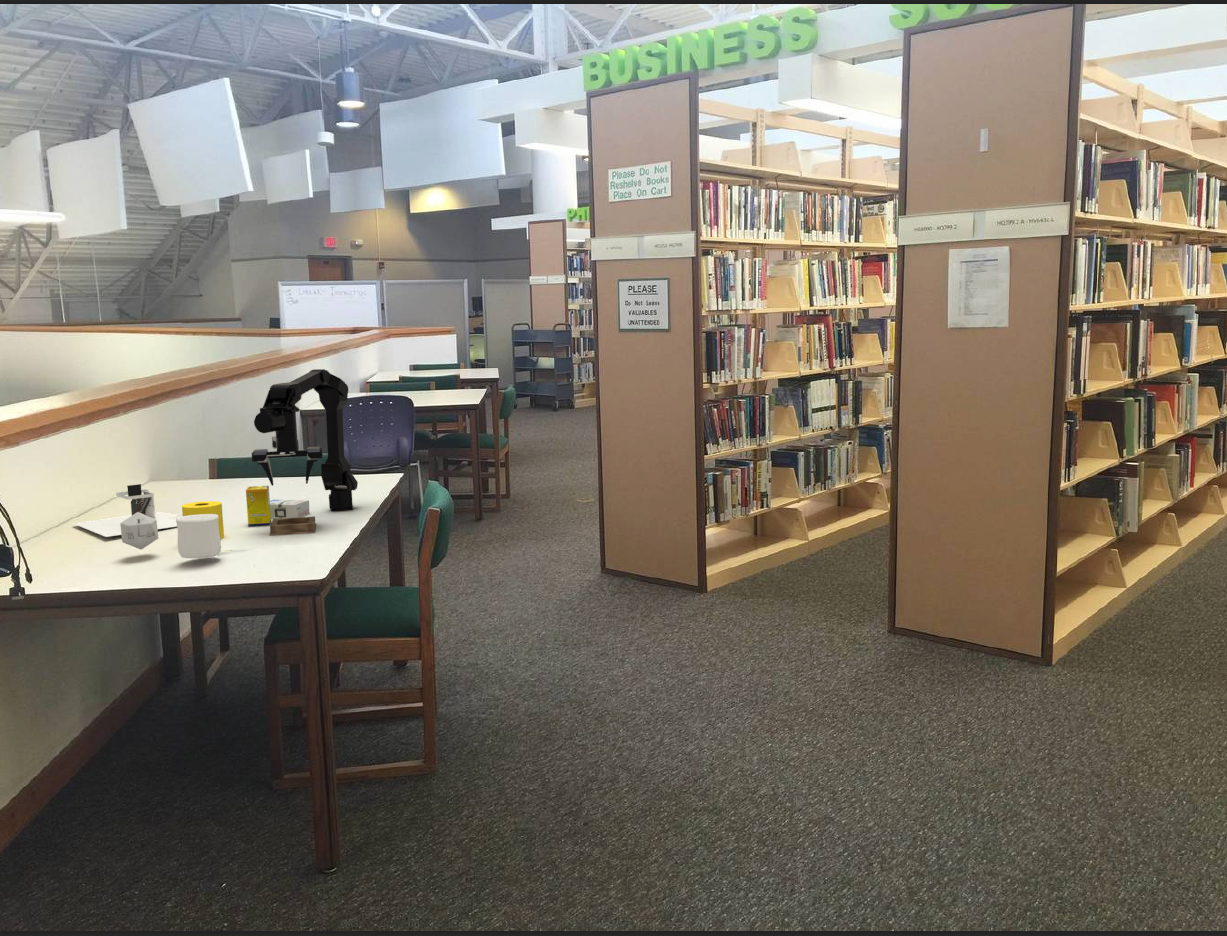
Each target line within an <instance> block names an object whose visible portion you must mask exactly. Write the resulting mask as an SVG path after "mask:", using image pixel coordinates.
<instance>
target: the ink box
mask: <svg viewBox="0 0 1227 936" xmlns="http://www.w3.org/2000/svg"><path fill="white" fill-rule="evenodd" d="M270 512H271V519H279V518H295V517H306V516H308V515H310V514H311V513H310V501H309V499H272V500H270ZM307 514H308V515H307Z"/></svg>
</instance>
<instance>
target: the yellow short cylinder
mask: <svg viewBox="0 0 1227 936" xmlns="http://www.w3.org/2000/svg"><path fill="white" fill-rule="evenodd" d="M181 510H182V511H181V512H182V516H189V515H199V514H216V515H218V526H219V534H220V540H221V539H224V538H225V531H224V518H223V504H222V502H221V501H217V500H215V501H213V500H210V501H208V500H205V501H195V502H194V501H193V502H189V503H188V502H187V503H185V504H182V505H181Z"/></svg>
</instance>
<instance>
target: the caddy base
mask: <svg viewBox="0 0 1227 936" xmlns="http://www.w3.org/2000/svg"><path fill="white" fill-rule="evenodd" d="M317 525H318V524H317V523H316V516H303V517H295V518H279V519H273V520H271V523H270V525H269V534H268V535H269V536H280V535H281V536H282V535H297V534H313V533H316V530H317V529H316V528H317Z"/></svg>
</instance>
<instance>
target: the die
mask: <svg viewBox="0 0 1227 936" xmlns="http://www.w3.org/2000/svg"><path fill="white" fill-rule="evenodd" d="M131 515H132V514H131ZM120 525H121V535H120V536H121V542H122V543H124V544H125V545H129V546H130V547H133V548H136V549H138V550H144V548H146V547H148V546H149V545H150V544H152V543H154V542H155V541H157V540H158V539H159V529H157V520H156V519H154V518H151V517H149V516H146V515H144V514H142V513H139V512H137V513H135V514H134V515H132V516H131V517H129V518H128V519H126V520H125V521H123V522H122V523H120Z"/></svg>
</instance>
